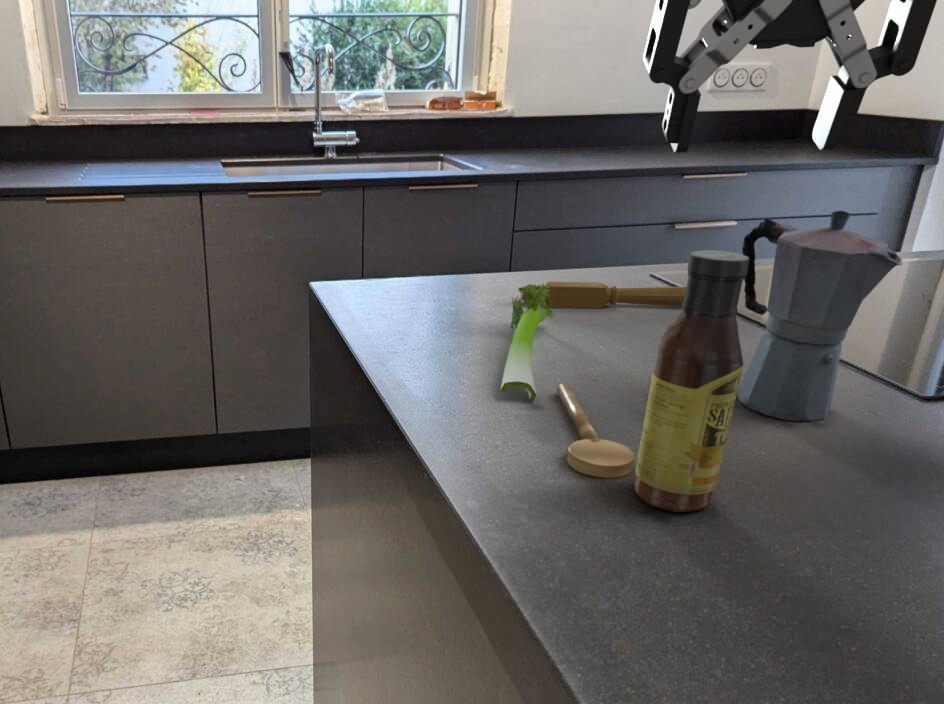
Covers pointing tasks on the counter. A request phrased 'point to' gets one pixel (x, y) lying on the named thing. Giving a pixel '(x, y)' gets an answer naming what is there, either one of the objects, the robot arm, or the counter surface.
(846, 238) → the moka pot
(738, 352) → the sauce bottle
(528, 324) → the celery stalk
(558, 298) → the tap handle
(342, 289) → the counter surface
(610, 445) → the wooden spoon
